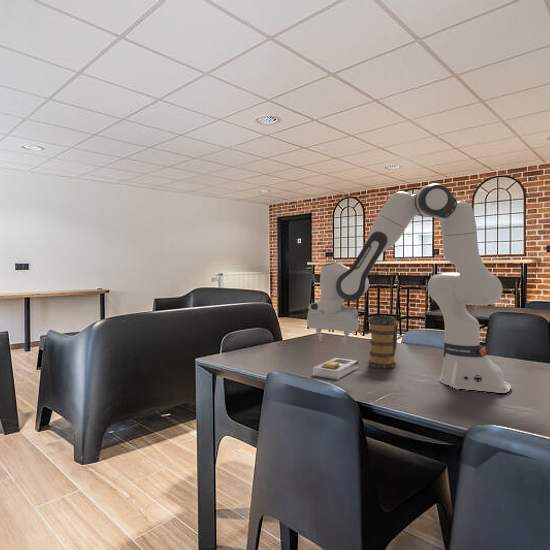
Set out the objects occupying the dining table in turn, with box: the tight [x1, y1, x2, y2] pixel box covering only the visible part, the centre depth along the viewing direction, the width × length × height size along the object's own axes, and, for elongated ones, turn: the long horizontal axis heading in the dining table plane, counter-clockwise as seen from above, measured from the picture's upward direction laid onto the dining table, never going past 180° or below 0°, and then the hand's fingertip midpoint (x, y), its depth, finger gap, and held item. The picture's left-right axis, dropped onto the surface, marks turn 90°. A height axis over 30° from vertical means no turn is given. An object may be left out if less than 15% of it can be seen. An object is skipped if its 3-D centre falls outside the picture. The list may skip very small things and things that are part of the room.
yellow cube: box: [323, 360, 339, 369], centre depth 155 cm, size 4×4×4 cm
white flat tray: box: [312, 357, 359, 381], centre depth 159 cm, size 10×20×3 cm, turn 147°
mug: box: [366, 315, 399, 370], centre depth 171 cm, size 13×17×20 cm
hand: (332, 341), depth 155 cm, fingers open, 8 cm apart
